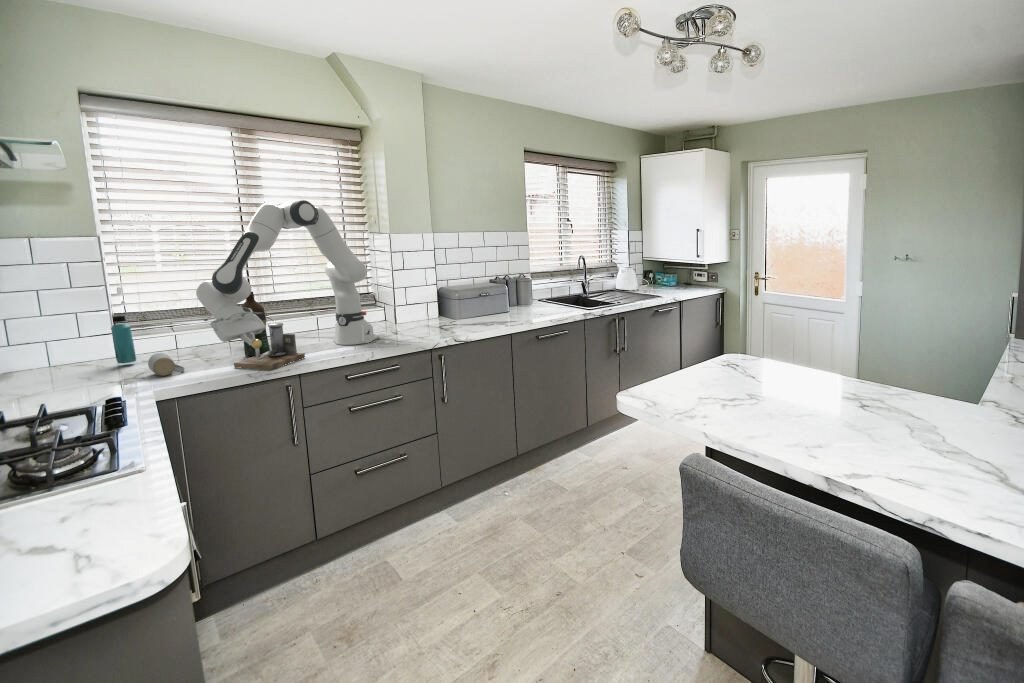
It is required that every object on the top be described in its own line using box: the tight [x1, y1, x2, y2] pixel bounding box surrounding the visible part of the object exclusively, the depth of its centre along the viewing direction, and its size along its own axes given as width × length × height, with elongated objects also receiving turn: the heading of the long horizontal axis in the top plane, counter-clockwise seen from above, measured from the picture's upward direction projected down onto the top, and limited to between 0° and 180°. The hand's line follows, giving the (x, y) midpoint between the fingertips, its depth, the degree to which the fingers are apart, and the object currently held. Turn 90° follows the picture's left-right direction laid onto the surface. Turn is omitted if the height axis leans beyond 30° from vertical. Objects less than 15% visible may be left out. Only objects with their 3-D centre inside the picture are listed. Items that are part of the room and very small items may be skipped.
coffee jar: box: [243, 312, 271, 357], centre depth 224 cm, size 10×8×19 cm
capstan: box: [251, 322, 287, 360], centre depth 208 cm, size 20×7×13 cm, turn 177°
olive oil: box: [240, 291, 266, 315], centre depth 241 cm, size 11×11×25 cm
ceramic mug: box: [147, 352, 185, 377], centre depth 197 cm, size 11×8×8 cm
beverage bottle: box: [110, 315, 137, 364], centre depth 210 cm, size 6×7×20 cm
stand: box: [233, 333, 306, 371], centre depth 211 cm, size 20×17×10 cm
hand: (253, 343), depth 201 cm, fingers closed
